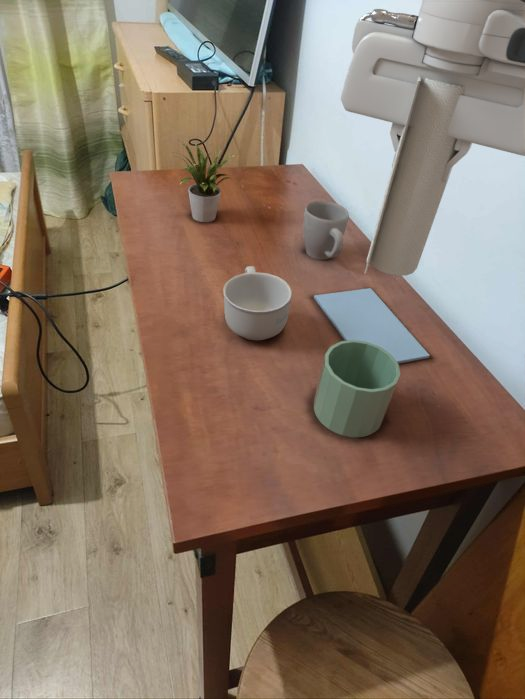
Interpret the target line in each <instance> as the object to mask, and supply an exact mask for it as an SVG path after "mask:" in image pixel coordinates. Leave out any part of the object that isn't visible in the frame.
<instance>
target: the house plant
mask: <svg viewBox="0 0 525 699" xmlns="http://www.w3.org/2000/svg"><path fill="white" fill-rule="evenodd" d="M176 141H178V142H179V143H181V145H183V146H184V148H185V149H186V151H187V153H188V155H189V157H190V159H191V160H190V159H189V158H188V157H186V156H185V155H184V154H181V153H178V152H172V154H175V155H173V156H172V157H173V158H174V157H175V158H180V159H181V157H180V155H181V156H182V157H183V158H185V159H186V160H185V159H183V158H182V160H183V161H184V162H185V164H186V165H187V166H185V167H183V170H185V171H186V172H187V173H189V174H190V175H191V176H192V177H190V176H185V177H184V176H183V175H182V174H180V173H177V175H178V176H181V177H182V179H181V180H180V183H179V185H182V184H183V183H186V182H189V183H190V184H191V185H190V186H189V187H188V189H187V190H188V197H189V204H190V211H191V217H192V219H193V220H194V221H197V222H200V223H210V222H213V221H215V219H216V216H217V213H218V207H219V203H220V198H221V194H222V190H221V189H220V187H218V185H219V184H220V183H222V182H223V181H225V180H228V179H231V180H233V178H232V177H231V176H230V175H229V174H226V173H218V171H219V170H220V169H221V168H222V167H223V166H224V165H225V164H226V163H227V162H228V161H230V160H231V159H232V158H234V157H235V156H238V155H239V154H238V153H235V154H232V155H229V156H228V157H227V158H226V159H224V160H223V161H222V162H221V163H218V161H219V160H220V159H219V158H220V155H221V152H222V148H220V149H219V150H218V152H217V154H216V156H215V158H214V161H213V163H211V164H209V165H208V169H207V164H208V158H209V156H210V155H211V154H212V152H210V153H209V154H208V152H209V149H210V147H211V145H212V144H210V145H209V147H208V150H207V152H206V154H207V155H206V156H205V155H204V153H203V151H202V149H201V148H200V146H199V144H198V143H197V142H196V141H195V142H194V146H195V147H196V154H197V156H196V157H197V161H198V163H197V162H196V160H195V158H194V155H193V153H192V151H191V149H190V148H189V146H188V145H187V144H185V143H184V142H183V141H182V140H178V139H176ZM177 155H179V156H177ZM187 161H188V162H189V163H190V165H189V163H188V162H187ZM221 177H223V178H222V179H220V178H221ZM218 179H220V180H219V181H218V182H217V180H218ZM190 180H194V182H195V184H193V183H191V181H190ZM216 182H217V183H216Z"/></svg>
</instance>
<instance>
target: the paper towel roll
mask: <svg viewBox="0 0 525 699" xmlns="http://www.w3.org/2000/svg"><path fill="white" fill-rule="evenodd" d="M420 81H421V78H420V77H418V81H417V85H416V88H415V92H414V96H413V99H412V103H411V107H410V110H409V114H408V117H407V121H406V125H405V126H404V127H403V131H402V134H401V137H400V141H399V145H398V148H397V152H395V153H396V155H395V154H394V156H395V159H394V158H393V160H394V163H393V162H392V164H393V166H392V165H391V170H390V173H389V177H388V181H387V185H386V188H385V192H384V196H383V199H382V202H381V207H380V210H379V214H378V217H377V221H376V225H375V227H374V228H375V229H374V232H373V236H372V240H371V243H370V245H369V246H370V247H369V250H368V254H367V258H366V266H365V269H364V274H366V273H367V272H368V270H369V266H370V264H371V265H372V267H373V268H374V269H377V270H378V271H379V272H382V273H384V274H387V275H390V276H391V275H392V276H396V277H401V276H402V277H403V276H409V275H411V274H414V272H416V270H417V269H418V266H419V265H420V264H419V263H420V261H421V258H422V256H423V252H424V250H425V246H426V244H427V241H428V238H429V235H430V233H431V230H432V226H433V224H434V221H435V219H436V215H437V213H438V210H439V207H440V204H441V201H442V198H443V195H444V192H445V190H446V187H447V184H448V181H449V179H450V175H451V173H452V170H453V168H452V169H451V172H450V175H449V177H448V179H447V181H446V182H443V181H442V176H443V173H444V170H445V167H446V164H447V162H448V161H449V160H450V159H451V158H452V157H453V156H454V155H455V154H456V153H457V152H458V151H457V150H455V149H454V147H455V144H456V141H457V139H455V138H451V137H448V136H447V128H448V125H449V123H450V120H451V117H452V114H453V111H454V108H455V106H456V103H457V100H458V97H459V95H463V93H464V90H465V87H464V86H460V85H455V84H451V83H446V82H442V81H437V80H433V79H428V78H426V79H425V81H424V85H423V86H425V87H426V91H425V94H424V98H423V102H422V106H421V110H420V113H419V117H418V121H417V123H416V124H415V126H414V127H408V124H409V120H410V117H411V113H412V110H413V106H414V102H415V99H416V95H417V92H418V88H419V85H420Z"/></svg>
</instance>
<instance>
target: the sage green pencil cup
mask: <svg viewBox="0 0 525 699" xmlns="http://www.w3.org/2000/svg"><path fill="white" fill-rule="evenodd" d="M400 378H401V370H400V363H399V364H398V363H397V362H396V360H395V359H394V357H393V356H392V355H391V354H390V353H388V352H387V351H386V350H384V349H383V348H381V347H379V346H377V345H374V344H372V343H369V342H365V341H358V340H348V341H345V340H341V341H339V342H336V343H334V344H333V345H330V347H329V348H328V349H327V351H326V352H325V354H324V356H323V361H322V366H321V370H320V374H319V377H318V382H317V386H316V389H315V394H314V398H313V411H314V414H315V416H316V418H317V420H318V421H319V423H321V424H322V426H324V427H325V428H326V429H328V430H329V431H330V432H332V433H335V434H337V435H339V436H342V437H347V438H364V437H368V436H370V435H372V434H374V433H376V432H377V431H378V430H379V429H380V427H381V426H382V423H383V421H384V419H385V416H386V413H387V411H388V409H389V406H390V403H391V401H392V399H393V396H394V393H395V390H396V388H397V386H398V383H399V379H400Z"/></svg>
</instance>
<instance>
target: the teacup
mask: <svg viewBox="0 0 525 699" xmlns="http://www.w3.org/2000/svg"><path fill="white" fill-rule="evenodd" d="M222 292H223V307H224V308H223V309H224V319H225V322H226V324H227V326H228V328H229V329H230V330H231V331H232V332H233V333H234V334H235V335H237V336H239V337H241V338H243V339H246V340H248V341H249V340H250V341H264V340H267V339H270V338H274V337H275V336H277V335H278V334H280V332H282V331H283V330H284V328H285V327H286V324H287V322H288V318H289V314H290V306H291V300H292V296H293V291H292V288H291V286H290V285H289V283H287V282H286V280H284V279H283V278H281V277H279V276H278V275H274V274H272V273H267V272H257V269H256V267H255V266H253V265H249V266H246V267H245V269H244V273H241V274H237V275H235V276H233V277H231V278H230V279H228V280H227V281H226V283H224V286H223V290H222Z"/></svg>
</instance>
